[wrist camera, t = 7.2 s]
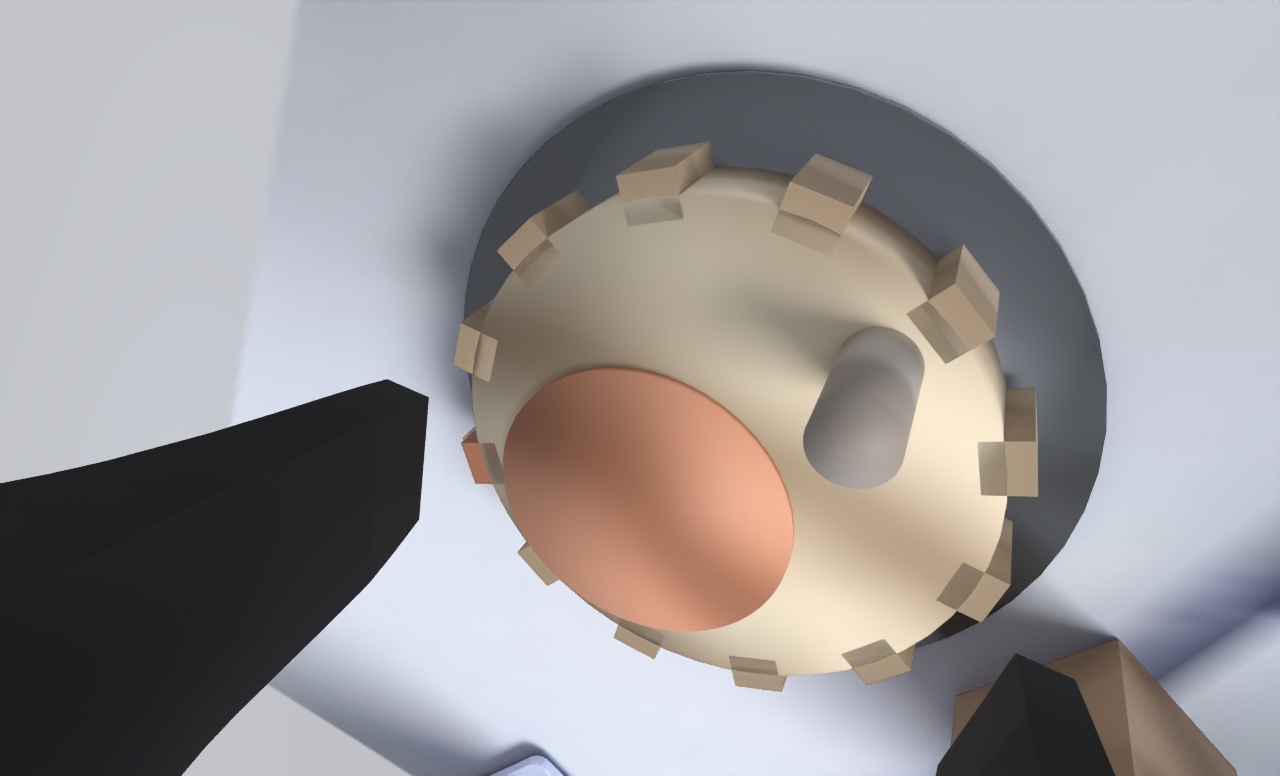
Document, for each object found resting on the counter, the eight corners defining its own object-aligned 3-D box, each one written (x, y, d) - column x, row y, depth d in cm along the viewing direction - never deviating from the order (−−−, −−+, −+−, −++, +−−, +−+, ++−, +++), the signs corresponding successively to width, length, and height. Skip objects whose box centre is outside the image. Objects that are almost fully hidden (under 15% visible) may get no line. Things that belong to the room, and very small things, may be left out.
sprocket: (879, 705, 23) (844, 884, 19) (467, 492, 25) (353, 608, 21) (1175, 296, 15) (1228, 438, 11) (556, 49, 18) (408, 91, 14)
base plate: (1276, 495, 17) (1295, 539, 16) (734, 716, 26) (719, 755, 25) (761, -117, 16) (738, -119, 14) (377, 344, 25) (342, 366, 23)
